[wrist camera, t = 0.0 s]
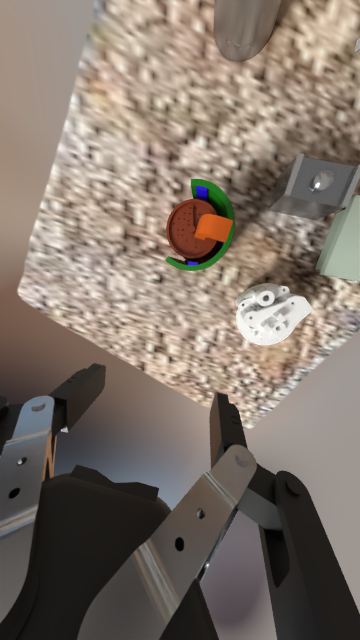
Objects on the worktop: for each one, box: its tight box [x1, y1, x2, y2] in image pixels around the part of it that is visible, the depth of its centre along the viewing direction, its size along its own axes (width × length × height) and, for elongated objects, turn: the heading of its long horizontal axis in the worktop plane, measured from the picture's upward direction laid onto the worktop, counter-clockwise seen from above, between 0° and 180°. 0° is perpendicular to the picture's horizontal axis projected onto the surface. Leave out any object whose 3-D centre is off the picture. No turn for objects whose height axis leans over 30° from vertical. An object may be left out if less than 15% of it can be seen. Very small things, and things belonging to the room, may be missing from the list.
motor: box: [166, 179, 235, 271], centre depth 27 cm, size 10×9×20 cm
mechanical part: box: [235, 283, 313, 345], centre depth 33 cm, size 11×12×12 cm
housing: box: [268, 153, 360, 220], centre depth 29 cm, size 5×9×8 cm, turn 77°
